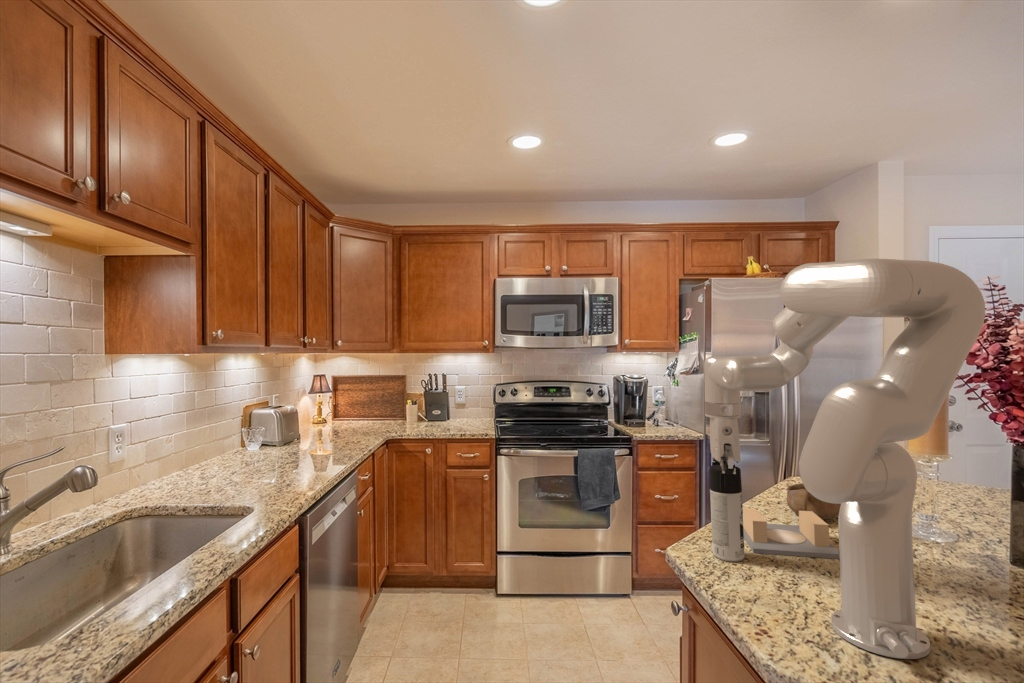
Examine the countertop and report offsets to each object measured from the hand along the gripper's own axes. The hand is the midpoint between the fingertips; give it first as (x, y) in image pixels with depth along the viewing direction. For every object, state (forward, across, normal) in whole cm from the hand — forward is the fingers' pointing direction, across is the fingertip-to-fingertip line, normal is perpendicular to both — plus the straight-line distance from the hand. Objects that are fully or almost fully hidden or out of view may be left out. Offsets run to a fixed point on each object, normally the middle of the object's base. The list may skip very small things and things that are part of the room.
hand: (723, 485), depth 109 cm
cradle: (+16, +11, -16) cm, 25 cm away
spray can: (+16, -1, 0) cm, 16 cm away
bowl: (+16, +30, -28) cm, 45 cm away
